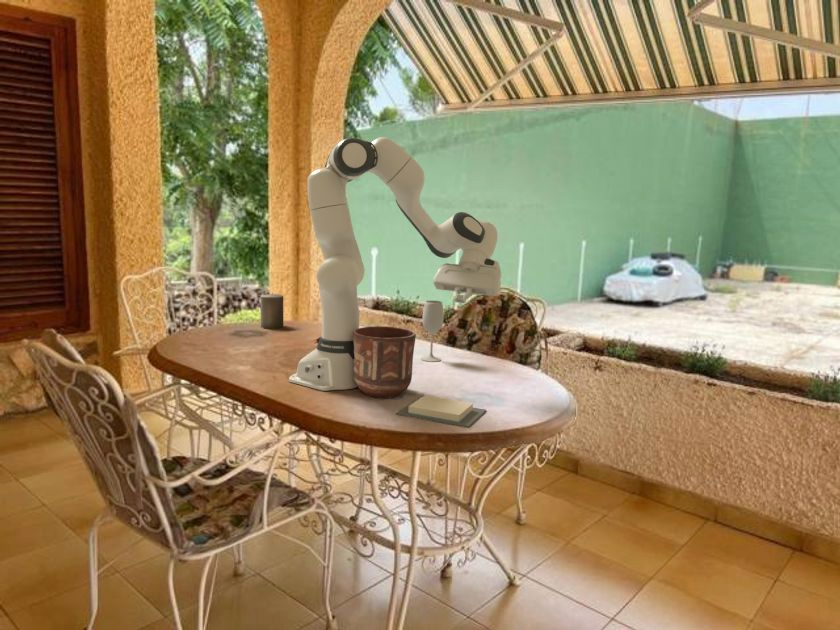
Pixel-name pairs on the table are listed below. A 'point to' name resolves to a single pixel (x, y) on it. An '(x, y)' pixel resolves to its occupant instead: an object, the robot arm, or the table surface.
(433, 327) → the wineglass
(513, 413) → the table surface
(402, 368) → the pottery
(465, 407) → the tile
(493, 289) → the robot arm
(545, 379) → the table surface
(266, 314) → the pillar candle
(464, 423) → the mat
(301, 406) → the table surface
